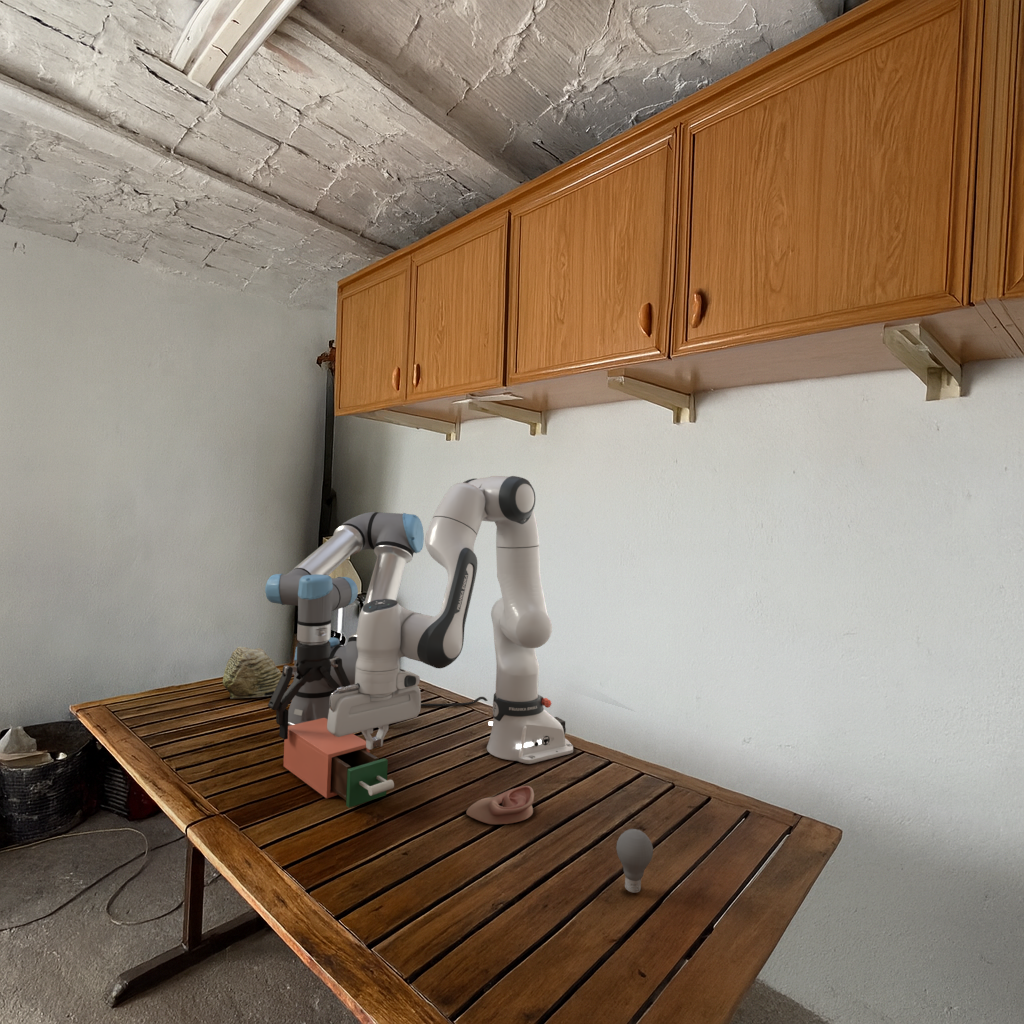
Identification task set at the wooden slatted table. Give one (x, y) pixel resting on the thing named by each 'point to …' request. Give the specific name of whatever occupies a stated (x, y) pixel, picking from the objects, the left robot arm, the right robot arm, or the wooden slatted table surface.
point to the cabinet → (316, 753)
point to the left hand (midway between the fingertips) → (311, 730)
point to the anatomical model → (504, 807)
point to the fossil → (250, 674)
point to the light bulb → (634, 857)
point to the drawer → (359, 777)
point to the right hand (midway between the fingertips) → (374, 747)
